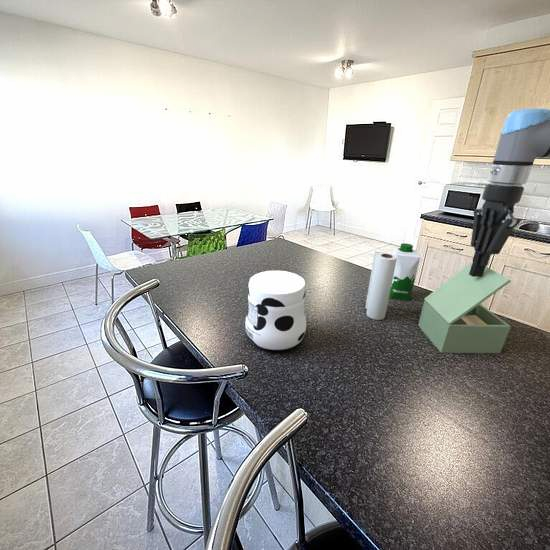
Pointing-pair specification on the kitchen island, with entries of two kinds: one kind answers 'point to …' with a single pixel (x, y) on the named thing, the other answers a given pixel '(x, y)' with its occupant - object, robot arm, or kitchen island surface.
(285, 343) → the milk container
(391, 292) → the milk carton
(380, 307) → the paper towel roll
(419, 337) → the kitchen island surface
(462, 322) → the block
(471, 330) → the green hinged box
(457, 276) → the lid
